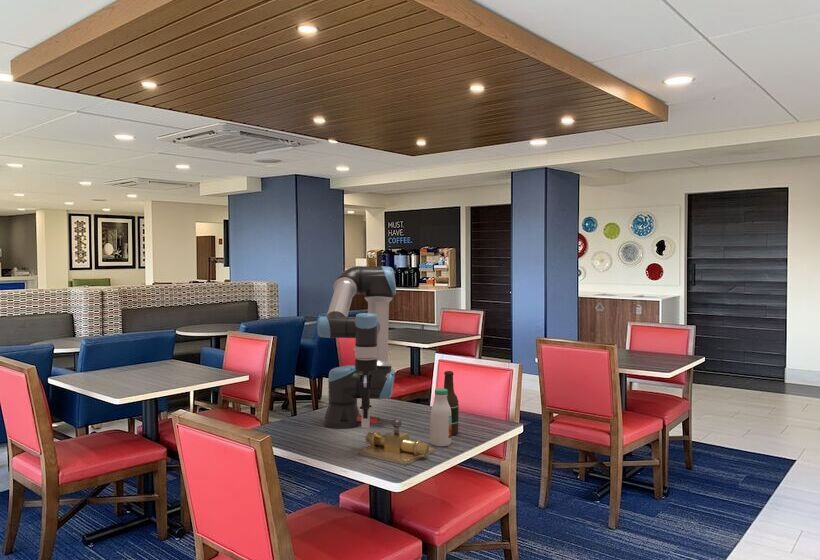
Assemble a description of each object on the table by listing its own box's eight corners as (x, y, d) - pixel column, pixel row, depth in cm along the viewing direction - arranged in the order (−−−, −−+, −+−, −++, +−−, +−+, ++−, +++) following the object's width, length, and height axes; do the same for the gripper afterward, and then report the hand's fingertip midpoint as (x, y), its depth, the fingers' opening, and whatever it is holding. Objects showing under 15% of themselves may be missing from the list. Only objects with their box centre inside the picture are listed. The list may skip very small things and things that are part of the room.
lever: (402, 424, 217) (402, 419, 217) (399, 426, 214) (399, 421, 214) (360, 419, 224) (360, 414, 224) (356, 421, 221) (356, 416, 221)
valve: (353, 453, 216) (353, 425, 216) (383, 441, 231) (384, 415, 231) (411, 466, 203) (411, 437, 202) (439, 452, 218) (440, 425, 217)
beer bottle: (456, 436, 238) (457, 373, 237) (436, 435, 239) (437, 372, 239) (459, 431, 245) (460, 370, 245) (439, 429, 247) (440, 369, 246)
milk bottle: (444, 448, 223) (445, 392, 222) (426, 444, 227) (426, 389, 226) (455, 443, 229) (455, 388, 229) (436, 439, 233) (437, 386, 233)
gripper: (356, 355, 221) (355, 422, 221) (353, 361, 208) (353, 432, 208) (377, 356, 221) (377, 422, 221) (376, 361, 208) (375, 432, 208)
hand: (365, 427), depth 215 cm, fingers closed
